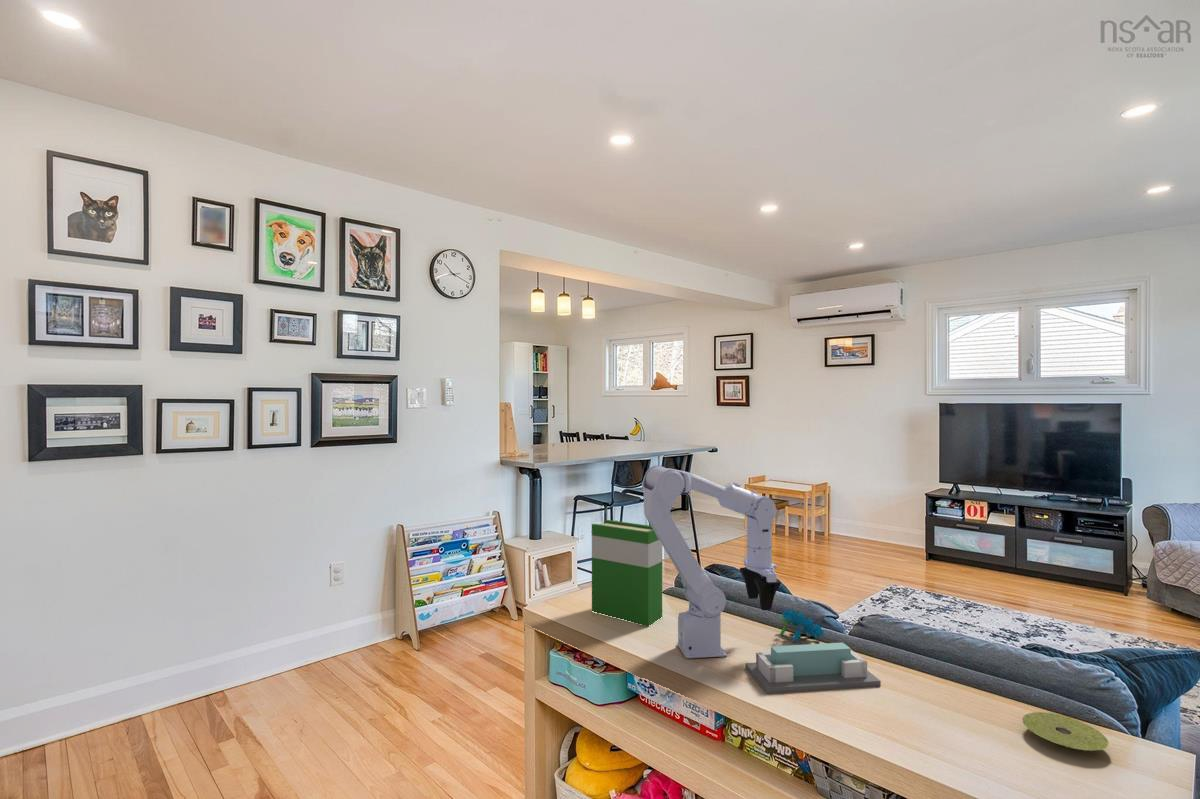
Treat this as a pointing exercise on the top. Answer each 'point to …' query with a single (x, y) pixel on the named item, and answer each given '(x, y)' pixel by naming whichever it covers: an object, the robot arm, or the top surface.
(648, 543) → the hardback book
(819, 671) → the teal rectangular block
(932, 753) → the top surface
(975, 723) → the top surface
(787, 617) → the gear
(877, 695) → the top surface
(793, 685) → the cradle
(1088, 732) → the mat
